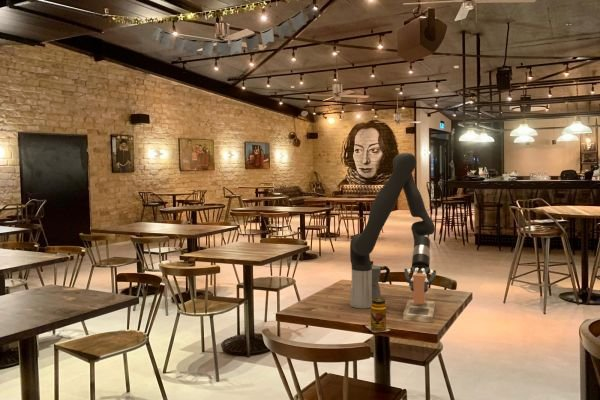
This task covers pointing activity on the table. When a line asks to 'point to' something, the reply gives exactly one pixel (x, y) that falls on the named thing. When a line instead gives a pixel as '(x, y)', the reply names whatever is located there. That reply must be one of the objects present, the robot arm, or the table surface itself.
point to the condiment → (378, 316)
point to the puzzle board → (419, 311)
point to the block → (418, 288)
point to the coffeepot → (375, 278)
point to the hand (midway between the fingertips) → (418, 290)
